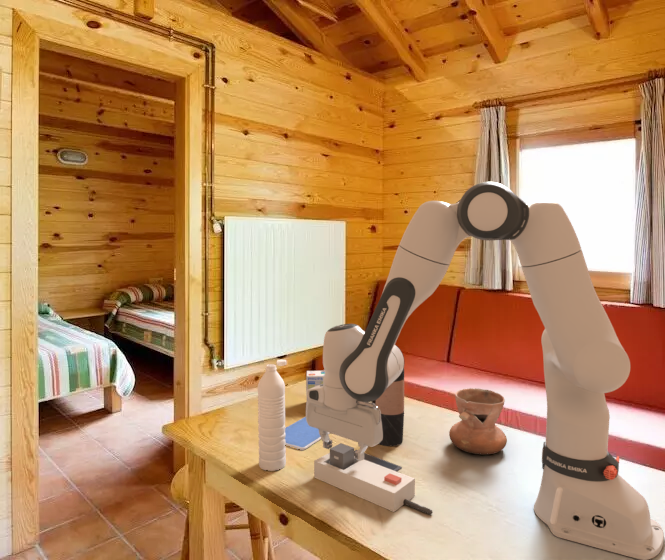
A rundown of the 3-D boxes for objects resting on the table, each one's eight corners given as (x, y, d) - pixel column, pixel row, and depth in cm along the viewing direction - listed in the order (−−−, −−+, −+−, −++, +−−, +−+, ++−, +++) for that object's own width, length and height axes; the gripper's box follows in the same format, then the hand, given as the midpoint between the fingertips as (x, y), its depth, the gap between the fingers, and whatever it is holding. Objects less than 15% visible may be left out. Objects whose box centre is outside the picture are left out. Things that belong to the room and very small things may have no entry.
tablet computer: (305, 419, 154) (305, 415, 154) (341, 428, 148) (341, 423, 147) (265, 442, 138) (265, 437, 138) (303, 453, 131) (303, 448, 131)
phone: (401, 470, 122) (401, 466, 122) (384, 481, 117) (384, 477, 116) (356, 453, 131) (356, 449, 131) (338, 462, 126) (338, 458, 126)
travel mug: (402, 448, 133) (403, 373, 131) (373, 445, 134) (374, 371, 132) (404, 436, 140) (405, 365, 138) (376, 433, 142) (377, 364, 140)
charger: (354, 472, 117) (354, 447, 117) (342, 479, 114) (343, 453, 114) (340, 467, 120) (340, 443, 119) (329, 473, 117) (329, 448, 116)
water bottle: (275, 474, 119) (274, 370, 116) (253, 467, 122) (251, 366, 120) (296, 459, 127) (295, 361, 124) (274, 453, 130) (273, 357, 127)
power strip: (441, 506, 105) (442, 484, 105) (421, 524, 99) (422, 500, 99) (336, 464, 123) (336, 446, 123) (314, 477, 117) (314, 457, 117)
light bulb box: (338, 401, 168) (338, 369, 167) (339, 408, 162) (339, 375, 161) (306, 401, 168) (306, 369, 167) (306, 409, 161) (306, 376, 160)
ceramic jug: (486, 467, 122) (490, 410, 121) (435, 448, 132) (437, 395, 131) (519, 446, 135) (523, 394, 133) (470, 430, 145) (473, 381, 143)
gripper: (388, 401, 111) (388, 461, 112) (319, 383, 124) (319, 437, 125) (371, 409, 106) (371, 472, 107) (301, 389, 119) (302, 446, 121)
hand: (343, 453), depth 117 cm, fingers open, 8 cm apart
